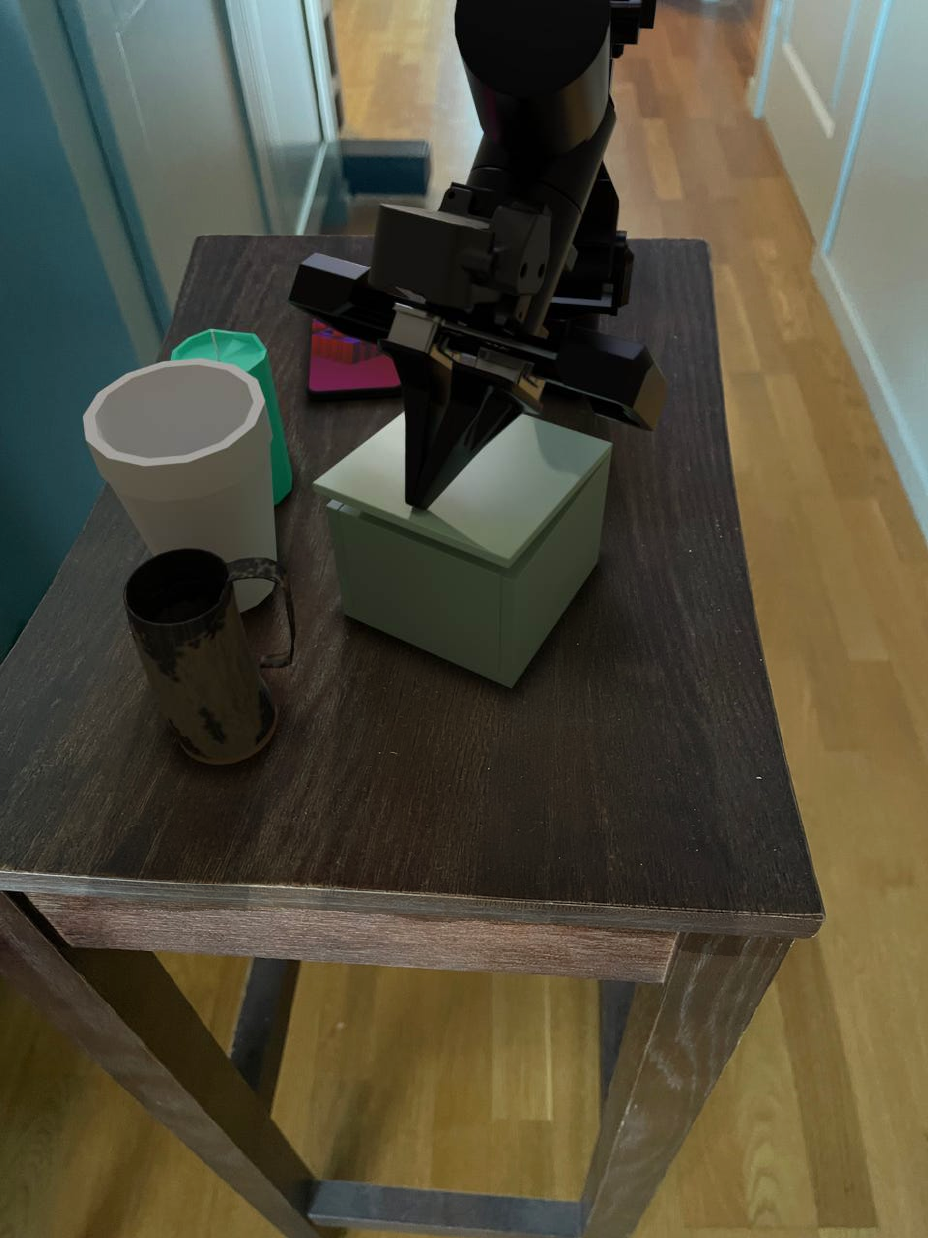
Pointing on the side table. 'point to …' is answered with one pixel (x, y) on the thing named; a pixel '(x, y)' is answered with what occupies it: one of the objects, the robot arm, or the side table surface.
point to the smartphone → (347, 367)
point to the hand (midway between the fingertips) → (415, 507)
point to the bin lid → (474, 486)
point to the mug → (205, 650)
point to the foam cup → (190, 461)
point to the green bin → (467, 583)
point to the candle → (255, 362)
